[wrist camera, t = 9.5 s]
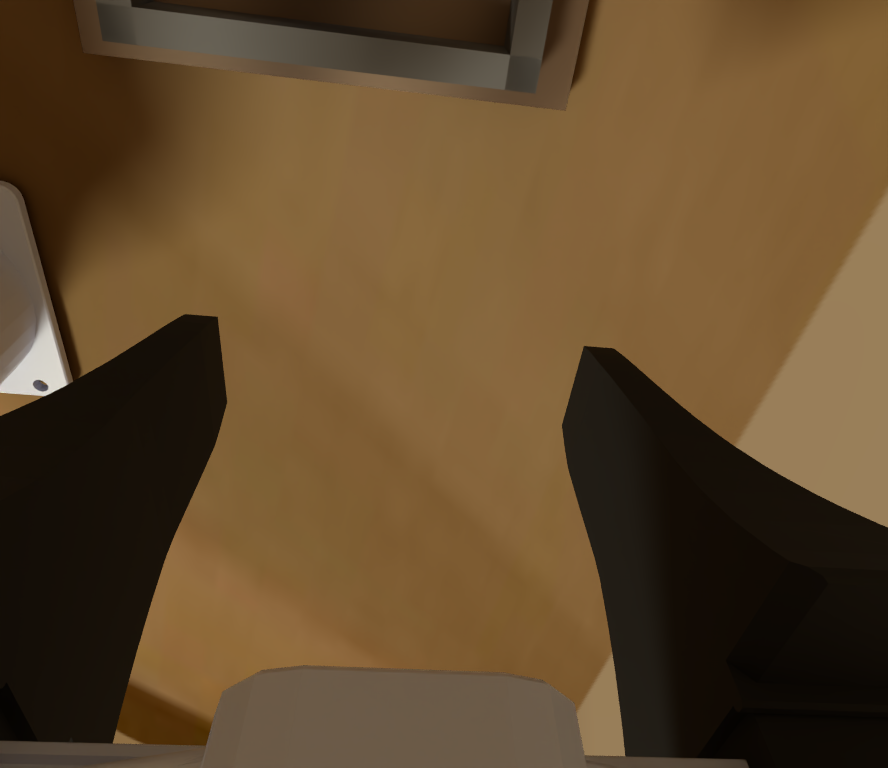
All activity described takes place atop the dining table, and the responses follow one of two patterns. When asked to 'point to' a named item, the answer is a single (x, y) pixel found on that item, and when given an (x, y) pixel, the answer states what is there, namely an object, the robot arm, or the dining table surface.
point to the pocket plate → (358, 42)
